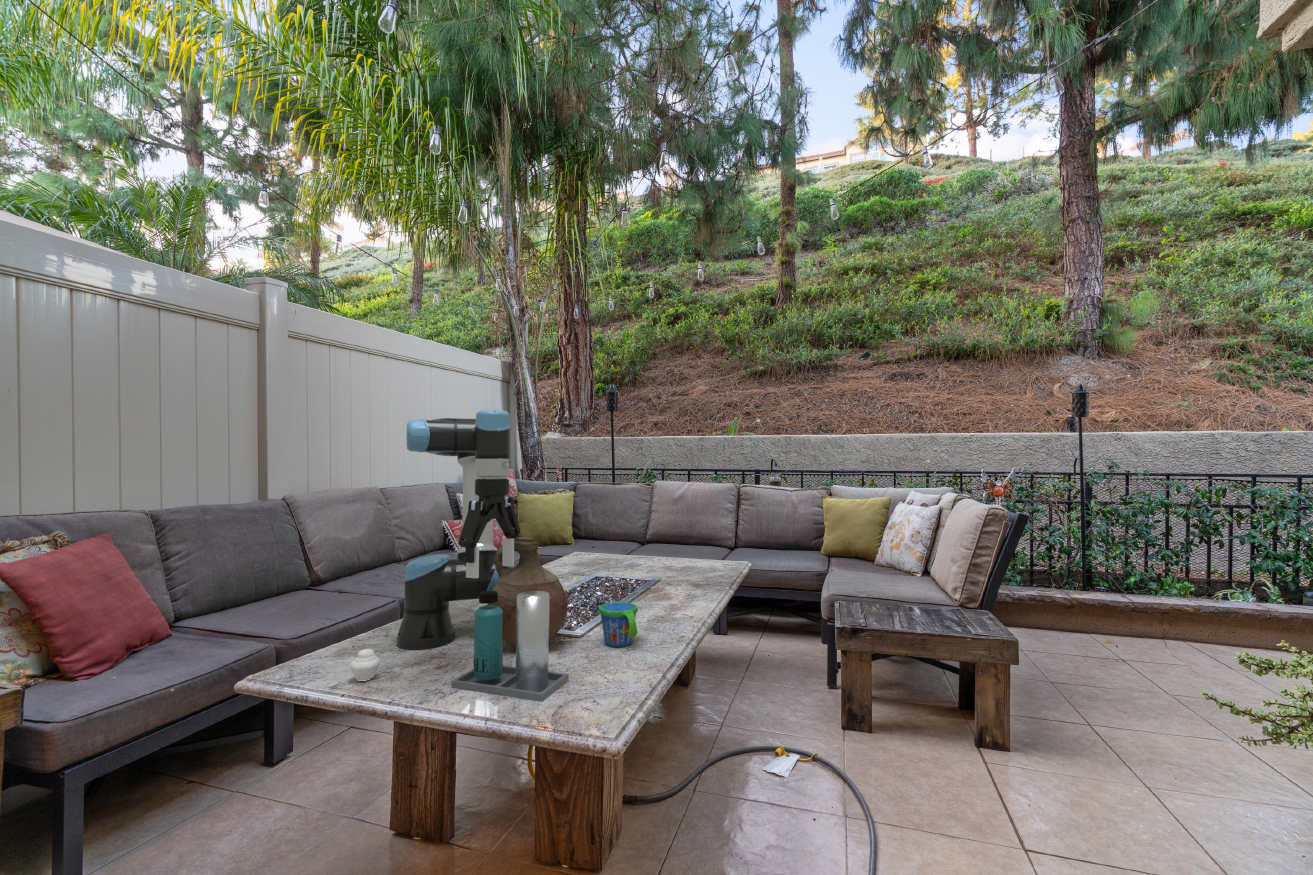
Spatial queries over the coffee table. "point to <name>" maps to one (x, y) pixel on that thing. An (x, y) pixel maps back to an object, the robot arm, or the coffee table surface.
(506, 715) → the coffee table surface
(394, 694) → the coffee table surface
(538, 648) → the canister
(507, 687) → the tray
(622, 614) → the snack cup
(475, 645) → the beverage bottle
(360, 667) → the white lidded jar
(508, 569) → the jug
